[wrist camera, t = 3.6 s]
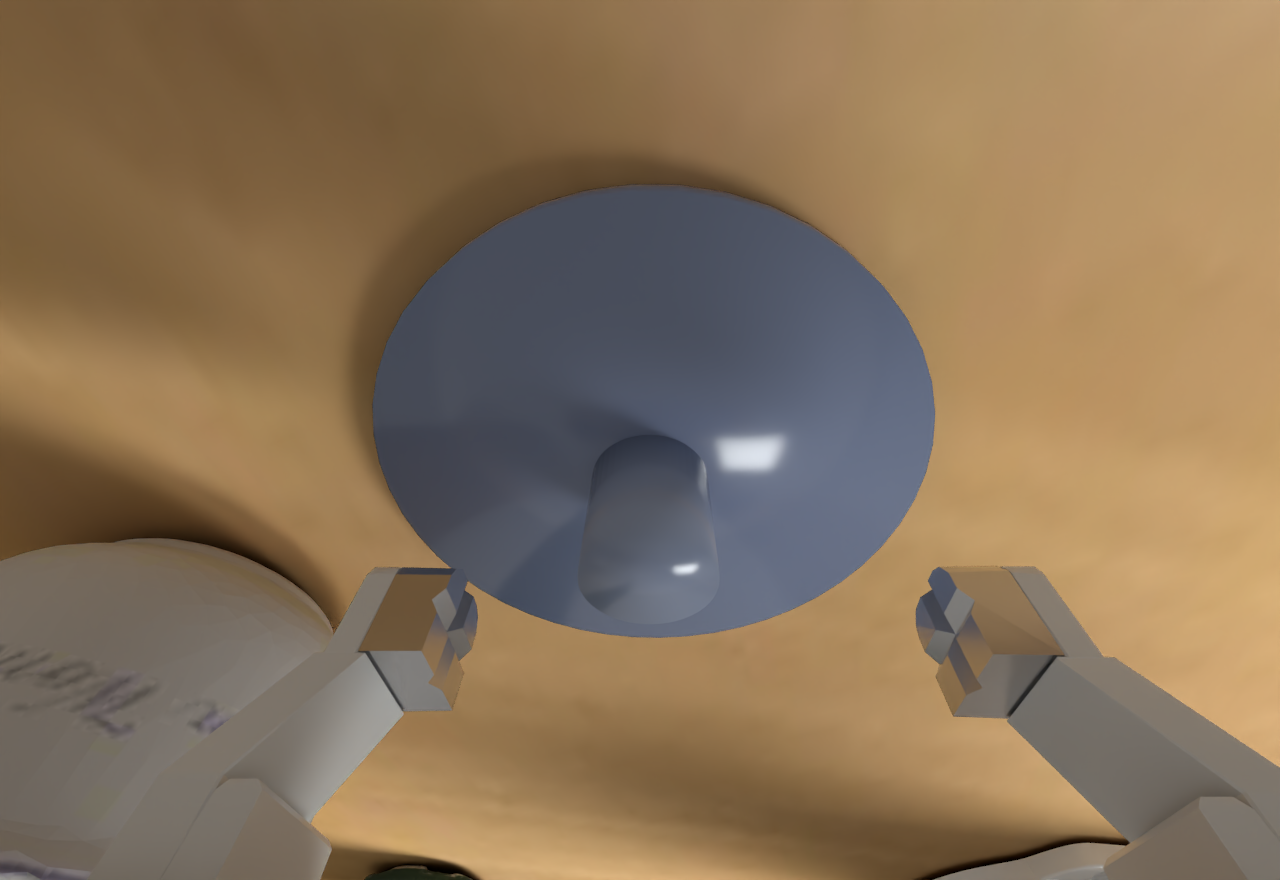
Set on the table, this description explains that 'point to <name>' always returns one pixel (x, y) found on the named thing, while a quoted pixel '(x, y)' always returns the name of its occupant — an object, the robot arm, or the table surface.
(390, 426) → the lid
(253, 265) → the table surface
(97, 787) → the teacup
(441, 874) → the coffee jar
